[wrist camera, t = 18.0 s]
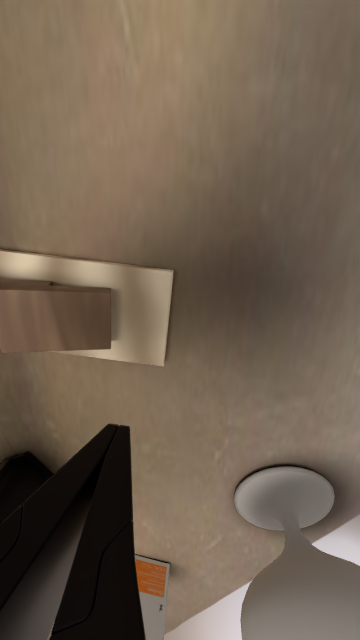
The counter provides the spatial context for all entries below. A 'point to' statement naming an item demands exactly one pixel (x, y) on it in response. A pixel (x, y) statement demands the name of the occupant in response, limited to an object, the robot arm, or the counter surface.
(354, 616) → the chalice
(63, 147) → the counter surface
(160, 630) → the skincare box
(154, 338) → the domino board
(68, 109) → the counter surface
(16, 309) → the domino
